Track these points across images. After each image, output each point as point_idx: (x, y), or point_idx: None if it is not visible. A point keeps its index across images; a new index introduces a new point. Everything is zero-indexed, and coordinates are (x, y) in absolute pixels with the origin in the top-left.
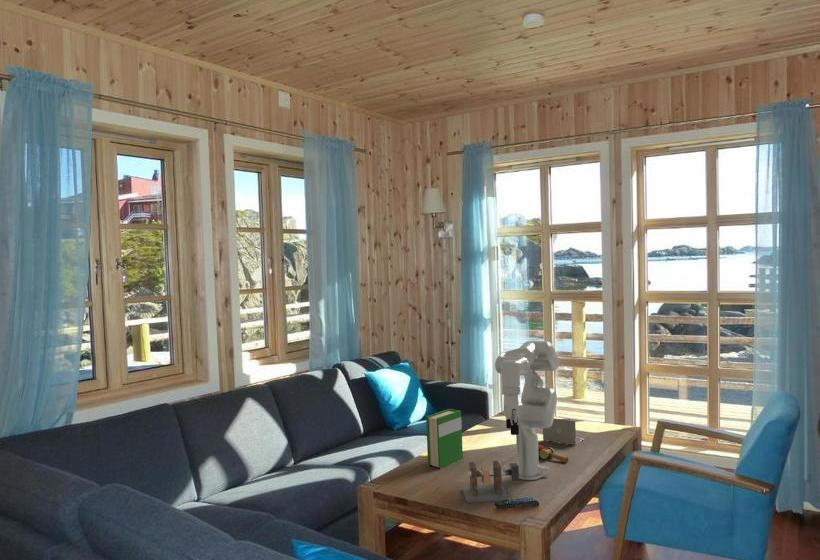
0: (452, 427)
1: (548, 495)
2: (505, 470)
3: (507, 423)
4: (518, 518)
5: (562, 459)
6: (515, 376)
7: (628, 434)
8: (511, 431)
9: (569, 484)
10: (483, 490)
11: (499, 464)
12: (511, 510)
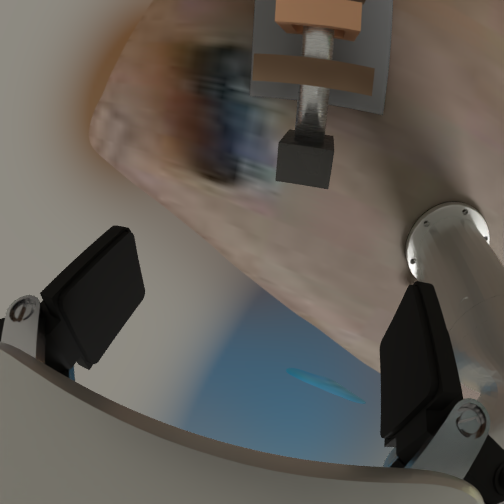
0: None
1: (270, 231)
2: (303, 113)
3: (418, 338)
4: (124, 100)
5: None
6: None
7: None
8: (93, 249)
9: (333, 311)
10: None
11: (301, 83)
12: (174, 88)
